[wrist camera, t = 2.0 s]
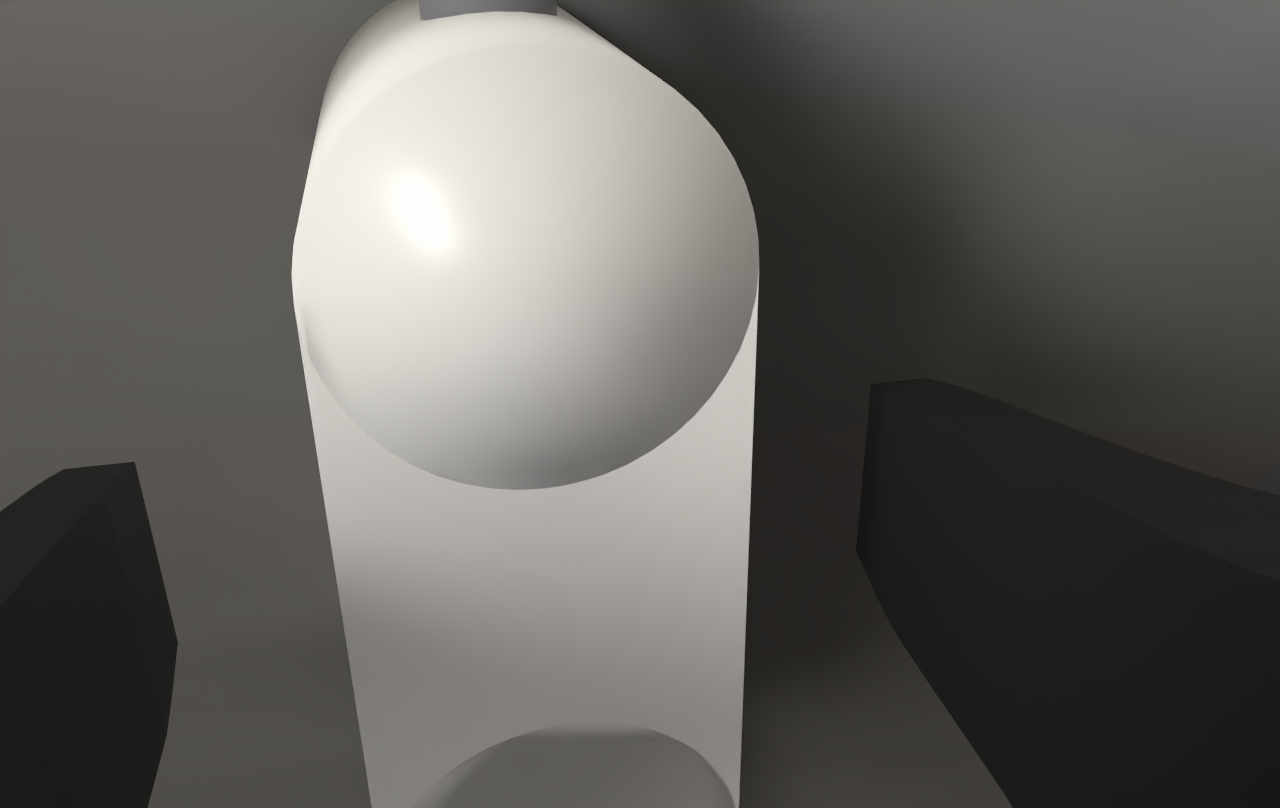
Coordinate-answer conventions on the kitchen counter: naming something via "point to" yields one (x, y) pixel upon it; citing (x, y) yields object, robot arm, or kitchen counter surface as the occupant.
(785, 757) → the kitchen counter surface
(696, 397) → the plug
